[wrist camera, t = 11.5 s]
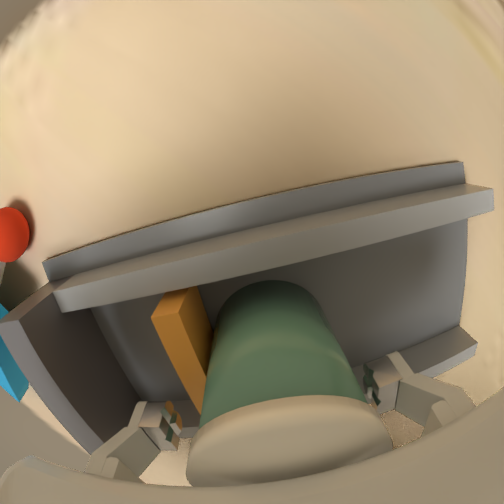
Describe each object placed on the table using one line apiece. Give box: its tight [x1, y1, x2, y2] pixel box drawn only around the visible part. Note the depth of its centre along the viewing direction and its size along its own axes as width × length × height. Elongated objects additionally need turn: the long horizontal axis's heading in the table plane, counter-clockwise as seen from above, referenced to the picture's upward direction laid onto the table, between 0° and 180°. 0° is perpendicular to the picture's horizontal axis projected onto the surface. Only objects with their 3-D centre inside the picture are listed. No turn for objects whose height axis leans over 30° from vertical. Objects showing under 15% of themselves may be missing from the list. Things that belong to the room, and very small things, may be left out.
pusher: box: [151, 286, 214, 415], centre depth 13 cm, size 8×1×4 cm, turn 13°
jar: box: [186, 280, 393, 487], centre depth 10 cm, size 6×6×9 cm
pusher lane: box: [0, 162, 494, 455], centre depth 12 cm, size 14×26×6 cm, turn 103°
